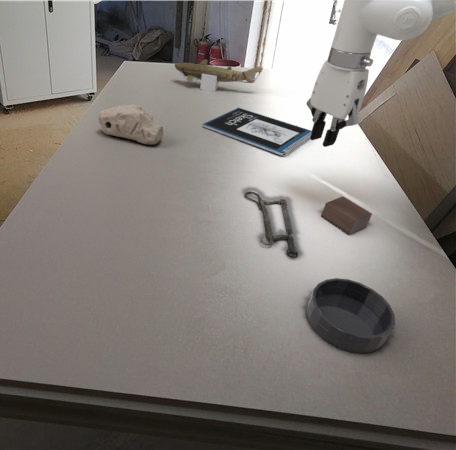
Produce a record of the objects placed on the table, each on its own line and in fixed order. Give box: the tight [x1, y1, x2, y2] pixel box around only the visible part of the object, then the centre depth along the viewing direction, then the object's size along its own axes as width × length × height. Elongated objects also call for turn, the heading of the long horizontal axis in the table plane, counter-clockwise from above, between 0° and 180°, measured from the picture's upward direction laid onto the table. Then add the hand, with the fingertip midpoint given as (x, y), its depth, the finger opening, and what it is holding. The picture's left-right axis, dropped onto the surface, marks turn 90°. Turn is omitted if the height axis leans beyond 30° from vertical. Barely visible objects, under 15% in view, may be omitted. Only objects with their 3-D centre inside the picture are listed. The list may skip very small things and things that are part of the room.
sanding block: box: [320, 195, 373, 236], centre depth 93 cm, size 6×8×4 cm
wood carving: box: [174, 59, 264, 93], centre depth 161 cm, size 9×35×11 cm, turn 70°
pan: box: [306, 277, 396, 354], centre depth 69 cm, size 13×13×4 cm
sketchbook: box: [202, 107, 312, 158], centre depth 132 cm, size 22×30×2 cm
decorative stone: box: [98, 104, 164, 146], centre depth 122 cm, size 20×8×10 cm, turn 67°
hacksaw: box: [244, 191, 299, 258], centre depth 92 cm, size 24×10×2 cm, turn 172°
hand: (321, 141), depth 93 cm, fingers open, 3 cm apart
